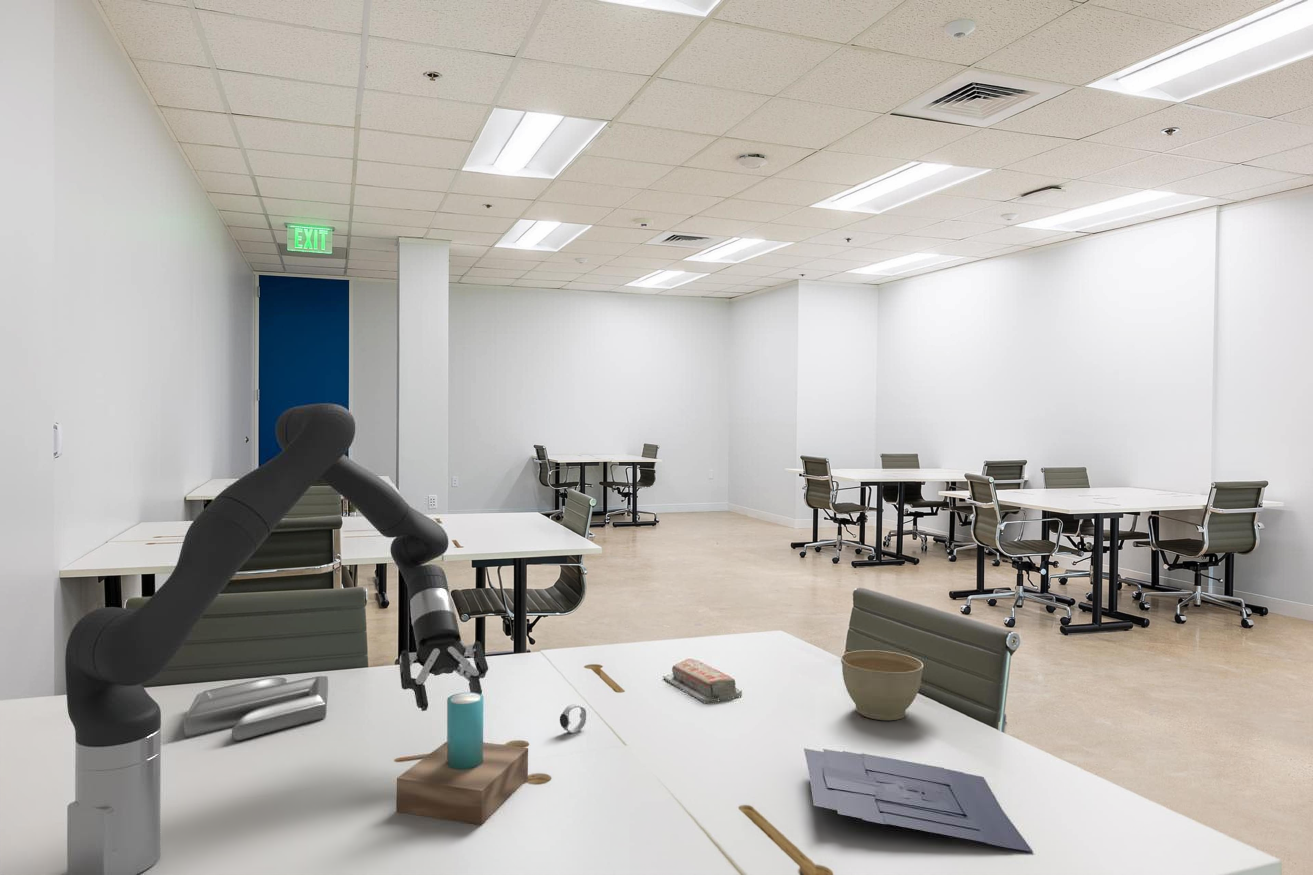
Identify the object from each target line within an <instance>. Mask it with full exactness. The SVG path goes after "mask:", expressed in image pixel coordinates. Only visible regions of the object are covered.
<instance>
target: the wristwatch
mask: <svg viewBox="0 0 1313 875" xmlns="http://www.w3.org/2000/svg"><path fill="white" fill-rule="evenodd" d="M576 708H579V709H580V713H579V719H580V721H579V723H578V724H577V725H576V726H575V727H574V728H571V729H570V730H569V726H570V724H571V721H570V712H571V711H572V710H573V709H576ZM586 722H587V711H586V708H584V707H582V706H581V705H577V704H576V703H575V704H569V705H567V706H566V707H565V709H564V710H563V711H562V713H561V714H560V716H559V723H560V726H561V727H562V729H563V730H565V732H568V733H571V734H576V733H578V732H579V731H581V730H582V729H583V727H584V726H585V724H586Z"/></svg>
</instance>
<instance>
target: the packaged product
mask: <svg viewBox="0 0 1313 875" xmlns="http://www.w3.org/2000/svg"><path fill="white" fill-rule="evenodd" d="M671 672H672V673H671V674H667V675H666V676H665V675H662V678H664V679H665V680H667V681H668V682H667V681H666V682H667V683H669V682H670V683H669V684H672V685H673V684H674V685H676V686H677V687H676V686H675V687H676V688H678V687H679V688H681V689H683V690H684V691H685V692H684V691H683V690H682V691H683V692H684V693H686V692H687V693H686V694H688V693H689V694H690V696H691V695H692V696H691V697H693V696H694V697H693V698H695V697H696V698H695V699H697V700H699V701H700V700H701V702H702V701H703V702H702V703H704V702H705V703H704V704H708V702H710V703H714V702H713V701H716V702H719V701H718V700H721V701H724V700H723V699H726V700H729V699H728V698H732V699H734V698H733V697H737V698H740V697H739V696H742V697H743V690H740V689H739V688H737V687H736V680H735V678H733V677H731V676H730V675H728V674H725V673H724V672H721V671H720V670H718V669H716V668H713V667H712V666H710V665H707V664H705V663H703V662H701V661H700V660H697V659H695V658H694V659H693V658H686V659H685V660H682V661H681V662H678V663H676V664H675V665H674V664H673V666H672V669H671ZM664 679H663V680H664ZM665 680H664V681H665ZM674 685H673V686H674ZM679 688H678V689H679ZM681 689H680V690H681ZM689 694H688V695H689Z"/></svg>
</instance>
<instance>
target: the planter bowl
mask: <svg viewBox="0 0 1313 875" xmlns="http://www.w3.org/2000/svg"><path fill="white" fill-rule="evenodd" d="M840 657H841V658H840V662H841V667H842V670H841V671H842V677H843V678H842V679H843V682H844V685H845V687H846V691H847V693H848V695H849V697H850V699H851V700H852V702H853V703H854V704H855V709H856V712H857V713H858V714H860V715H861V716H863V717H865V718H868V719H873V720H878V721H897V720H900V719H903V718H904V717H905V715H906V710H908V709H909V707H910V706H911V705H912V704H913V702H914V701H915V699H916V697H917V695H918V693H919V690H920V687H921V683H922V674H923V671H924V663H923V662H922V661H921V660H919V659H917V658H916V657H912V656H910V655H907V654H903V653H899V652H895V651H894V652H892V651H887V650H886V651H885V650H875V649H874V650H873V649H871V650H869V649H867V650H864V649H863V650H861V649H860V650H853V651H849V652H845V653H843V654H842V655H841V656H840Z"/></svg>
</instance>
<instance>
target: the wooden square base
mask: <svg viewBox="0 0 1313 875" xmlns="http://www.w3.org/2000/svg"><path fill="white" fill-rule="evenodd" d="M528 773H529V748H528V747H524V746H523V747H522V746H516V745H515V746H513V745H506V744H501V743H500V744H499V743H493V742H492V743H491V742H484V741H483V762H482V764H480V765H479V766H477V767H474V768H471V769H464V770H460V769H453V768H450V767H449V766H448V765H447V741H445V742H444V743H442V744H441V745H440V746H438V747H437V748H435V749H434V750H433V751H432V752H430V753H429V754H427V755H426V756H425V757H423V758H422V759H421V760H419V761H418V762H417V763H415V764H414V765H412V766H411V767H410V768H408V769H407V770H405V772H403V773H401V775H398V777H396V809H395V810H396V812H399V813H404V814H410V815H416V816H423V817H428V818H429V817H430V818H435V819H439V820H440V819H441V820H448V821H454V822H460V823H466V824H473V825H477V826H478V825H479V826H482V825H484V824H485V822H487V821H488V819H490V817H491V816H492V815H494V814H495V812H496V811H497V810H498V809H499V808H500V807H501V806H502V805H504V803H505V802H506V801H507V800H508V799H509V798H510V797H511V796H512V795H513V794H514V793H515V792H516V791H517V790H518V789H520V787H521V786H522V785H524V783H525V782H526V781H527V779H529V774H528Z"/></svg>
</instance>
